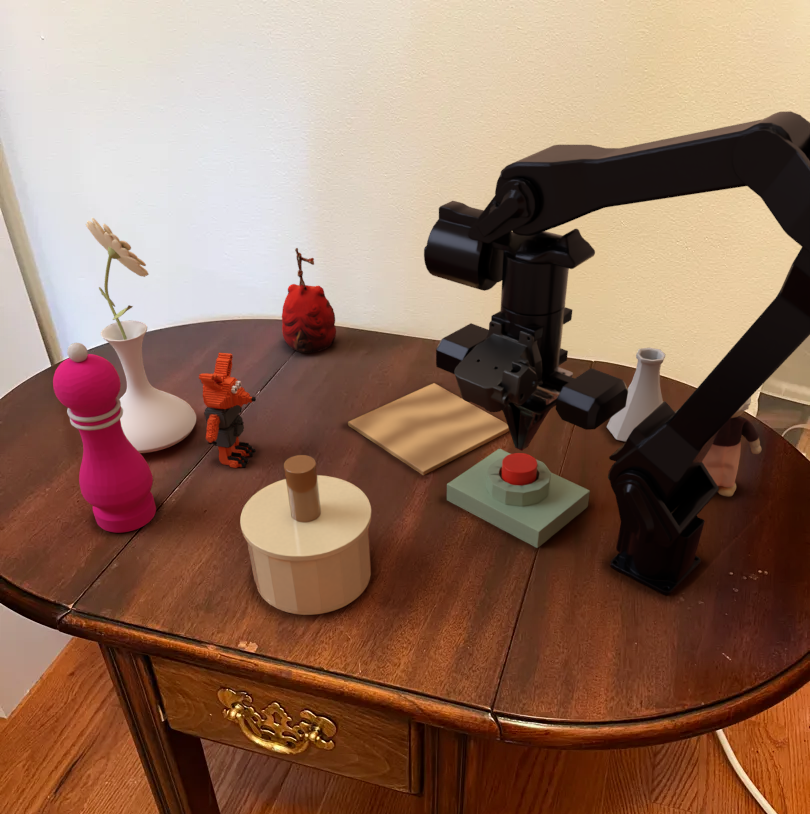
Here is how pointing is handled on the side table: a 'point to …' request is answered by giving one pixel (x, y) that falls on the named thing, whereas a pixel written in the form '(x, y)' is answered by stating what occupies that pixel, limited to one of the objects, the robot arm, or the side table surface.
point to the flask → (640, 394)
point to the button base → (518, 499)
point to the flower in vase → (140, 367)
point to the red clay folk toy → (307, 315)
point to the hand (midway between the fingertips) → (521, 448)
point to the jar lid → (305, 514)
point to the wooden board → (429, 428)
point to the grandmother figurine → (730, 450)
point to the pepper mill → (104, 443)
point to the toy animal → (225, 412)
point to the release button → (519, 469)
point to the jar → (313, 579)
